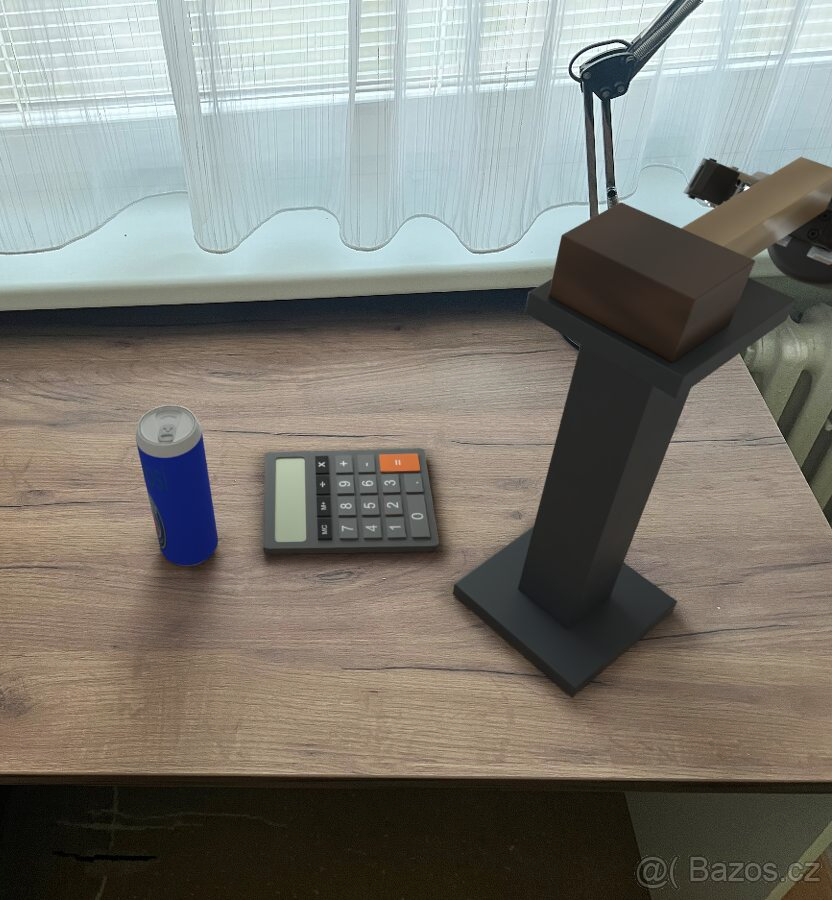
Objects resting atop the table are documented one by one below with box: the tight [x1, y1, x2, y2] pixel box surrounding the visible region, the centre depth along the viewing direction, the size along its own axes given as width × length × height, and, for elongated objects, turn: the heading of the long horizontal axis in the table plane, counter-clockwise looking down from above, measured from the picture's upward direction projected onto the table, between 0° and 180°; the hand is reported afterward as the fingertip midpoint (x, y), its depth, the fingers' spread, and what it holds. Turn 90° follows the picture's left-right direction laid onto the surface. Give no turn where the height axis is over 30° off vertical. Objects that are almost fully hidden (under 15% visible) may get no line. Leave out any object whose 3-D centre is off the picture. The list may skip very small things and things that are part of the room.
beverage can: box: [135, 404, 219, 567], centre depth 72 cm, size 5×5×15 cm
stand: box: [452, 277, 796, 699], centre depth 60 cm, size 12×12×30 cm
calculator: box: [262, 447, 440, 555], centre depth 79 cm, size 12×1×15 cm
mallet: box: [549, 156, 832, 363], centre depth 50 cm, size 8×19×4 cm, turn 126°
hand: (769, 204), depth 51 cm, fingers open, 8 cm apart
